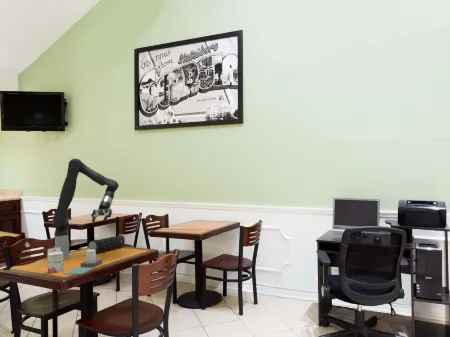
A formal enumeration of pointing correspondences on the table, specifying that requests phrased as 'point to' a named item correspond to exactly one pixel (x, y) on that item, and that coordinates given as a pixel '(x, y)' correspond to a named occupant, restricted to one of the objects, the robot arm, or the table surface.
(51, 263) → the ink cartridge box
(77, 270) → the mat
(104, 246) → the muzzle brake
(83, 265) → the dock
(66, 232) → the robot arm
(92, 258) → the plug
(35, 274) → the table surface
